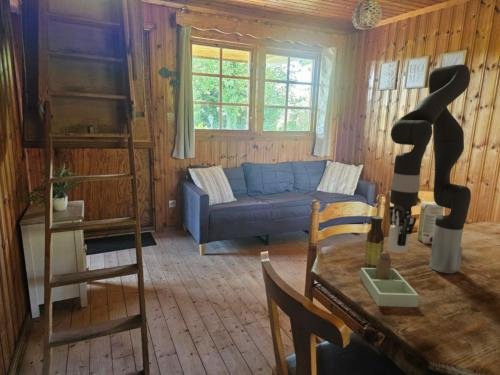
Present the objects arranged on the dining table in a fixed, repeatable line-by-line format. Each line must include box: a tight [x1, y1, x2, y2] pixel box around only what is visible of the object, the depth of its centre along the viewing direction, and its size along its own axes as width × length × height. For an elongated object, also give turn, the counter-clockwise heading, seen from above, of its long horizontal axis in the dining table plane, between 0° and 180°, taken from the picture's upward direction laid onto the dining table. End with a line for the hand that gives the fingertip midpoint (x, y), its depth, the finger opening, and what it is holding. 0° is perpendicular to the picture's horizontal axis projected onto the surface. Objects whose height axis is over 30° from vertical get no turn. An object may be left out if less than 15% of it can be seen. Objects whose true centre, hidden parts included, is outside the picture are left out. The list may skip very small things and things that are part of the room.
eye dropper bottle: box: [387, 220, 411, 254], centre depth 99 cm, size 4×6×12 cm
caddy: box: [359, 251, 420, 308], centre depth 107 cm, size 12×18×12 cm, turn 179°
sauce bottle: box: [364, 215, 385, 268], centre depth 124 cm, size 7×6×20 cm
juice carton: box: [416, 200, 445, 245], centre depth 152 cm, size 8×9×19 cm
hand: (398, 242), depth 100 cm, fingers closed on eye dropper bottle, 3 cm apart
